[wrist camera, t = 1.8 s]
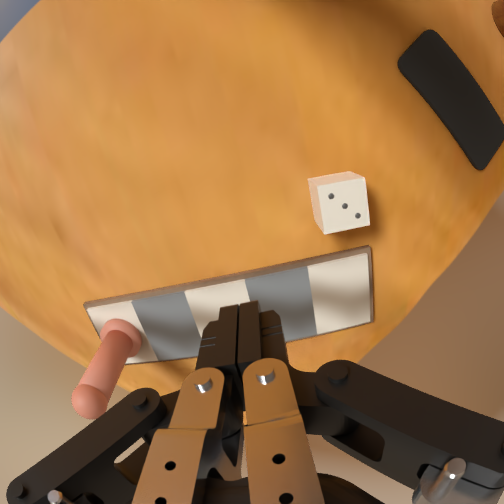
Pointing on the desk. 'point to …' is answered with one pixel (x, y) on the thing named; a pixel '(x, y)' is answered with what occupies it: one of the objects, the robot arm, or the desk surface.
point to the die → (339, 201)
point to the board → (246, 290)
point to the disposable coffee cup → (499, 14)
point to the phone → (453, 96)
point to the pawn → (106, 367)
